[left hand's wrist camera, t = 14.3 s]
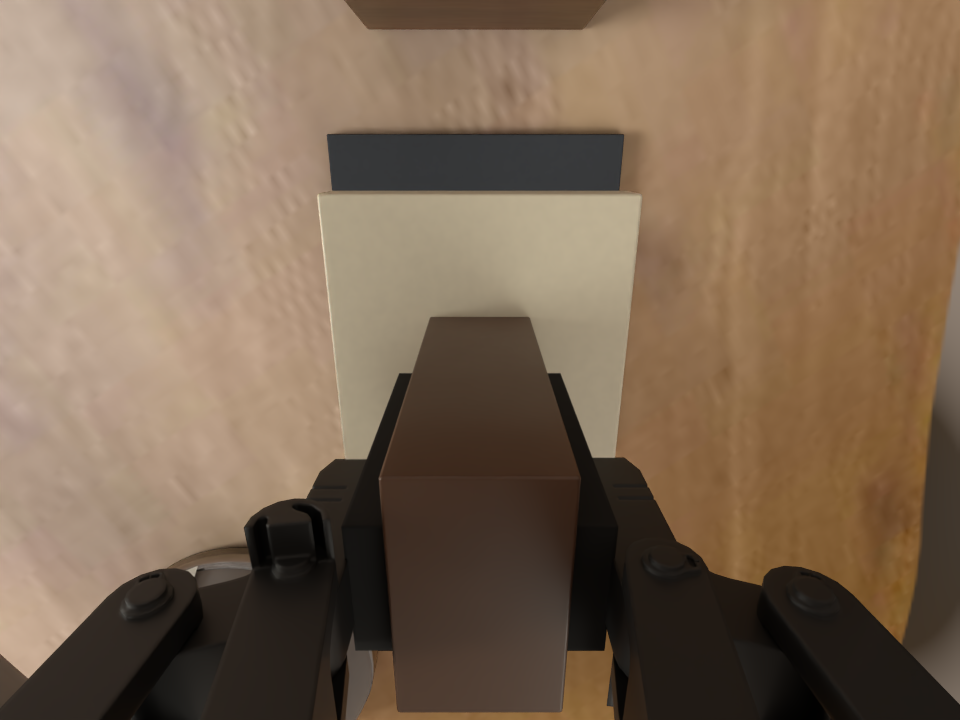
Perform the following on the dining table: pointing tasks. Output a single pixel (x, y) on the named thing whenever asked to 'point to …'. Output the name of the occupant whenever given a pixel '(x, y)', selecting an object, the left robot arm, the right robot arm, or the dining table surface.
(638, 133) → the dining table surface
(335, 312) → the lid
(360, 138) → the felt mat
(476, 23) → the box
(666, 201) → the dining table surface
